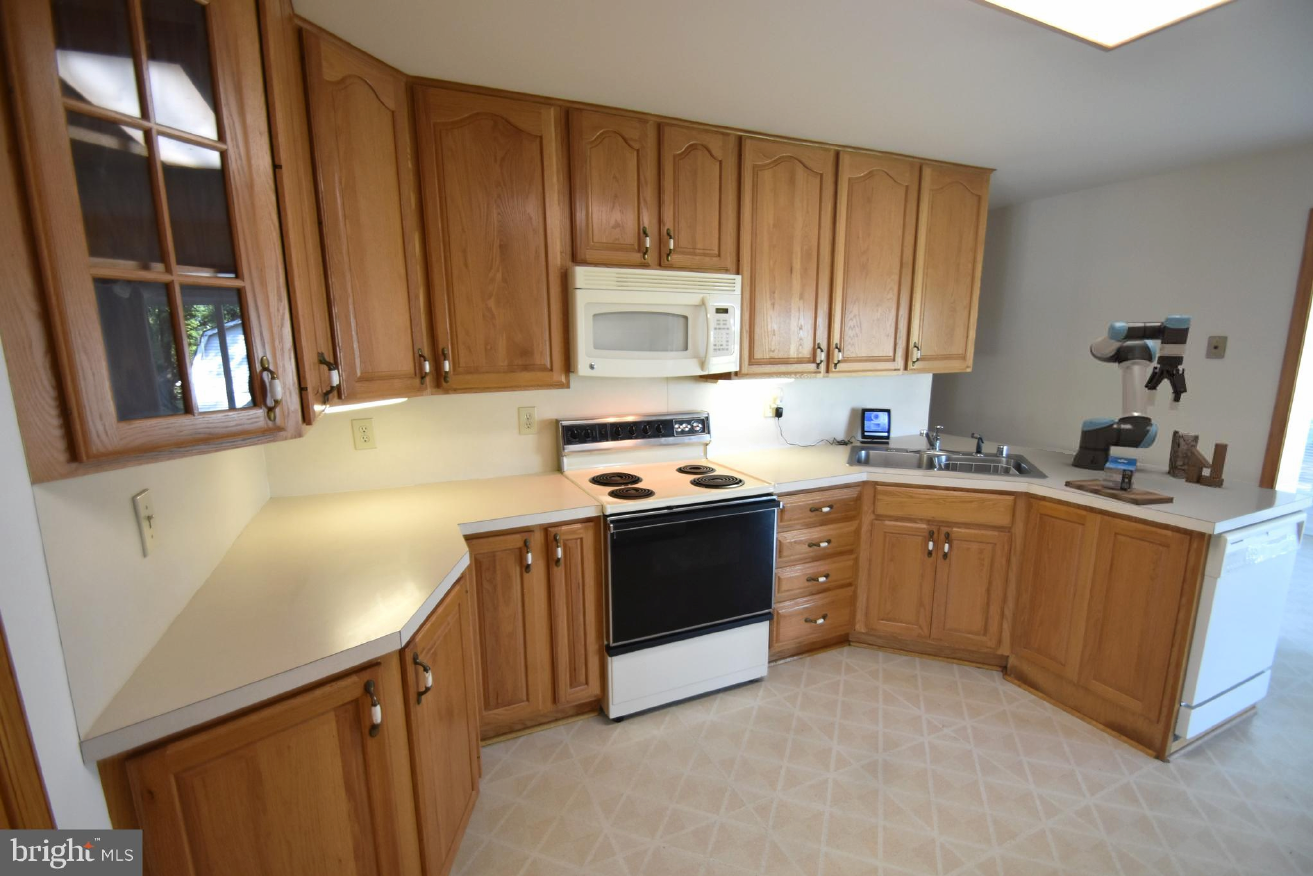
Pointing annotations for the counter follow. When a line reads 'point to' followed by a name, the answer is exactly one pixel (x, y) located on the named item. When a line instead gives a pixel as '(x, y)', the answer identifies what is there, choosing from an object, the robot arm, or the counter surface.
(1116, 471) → the label tape box
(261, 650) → the counter surface
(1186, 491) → the counter surface
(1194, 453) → the wooden block
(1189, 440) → the stone block
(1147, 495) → the walnut board
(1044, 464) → the counter surface
